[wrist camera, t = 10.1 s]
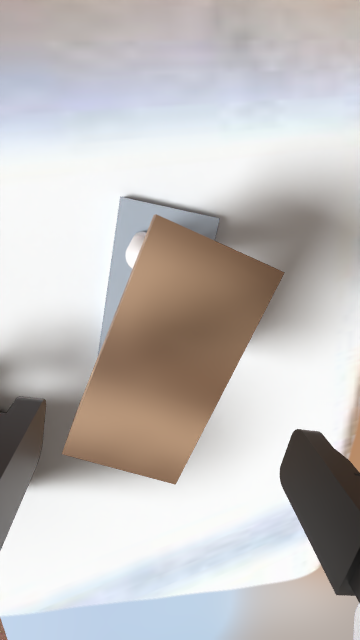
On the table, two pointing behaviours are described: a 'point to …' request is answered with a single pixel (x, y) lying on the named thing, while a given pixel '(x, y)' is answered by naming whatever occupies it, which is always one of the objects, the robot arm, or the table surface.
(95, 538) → the table surface
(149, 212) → the peg stand
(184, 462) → the brown wooden block
